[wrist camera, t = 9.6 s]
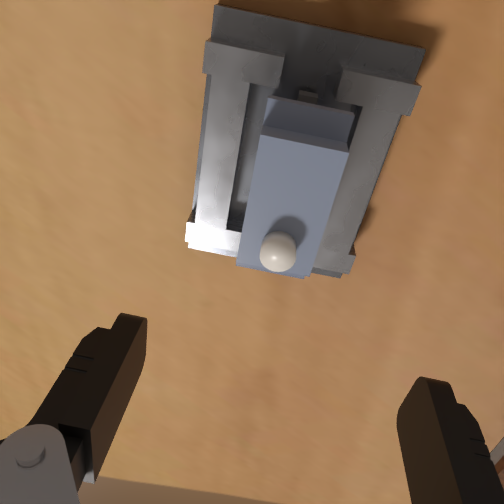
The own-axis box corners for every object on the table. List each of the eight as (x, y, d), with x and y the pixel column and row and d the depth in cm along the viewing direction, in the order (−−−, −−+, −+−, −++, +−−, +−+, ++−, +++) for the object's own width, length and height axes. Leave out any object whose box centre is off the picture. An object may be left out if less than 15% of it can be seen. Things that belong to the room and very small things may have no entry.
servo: (273, 77, 23) (264, 112, 17) (345, 92, 23) (361, 132, 17) (244, 225, 28) (229, 291, 22) (303, 237, 28) (303, 306, 22)
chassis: (217, 3, 22) (209, 6, 20) (421, 46, 22) (434, 54, 20) (191, 240, 30) (183, 259, 28) (339, 270, 30) (342, 291, 28)
